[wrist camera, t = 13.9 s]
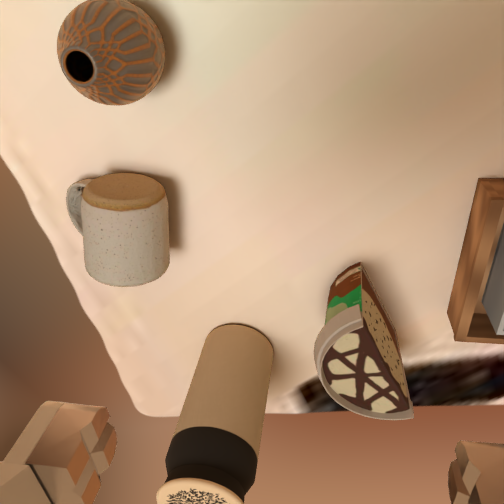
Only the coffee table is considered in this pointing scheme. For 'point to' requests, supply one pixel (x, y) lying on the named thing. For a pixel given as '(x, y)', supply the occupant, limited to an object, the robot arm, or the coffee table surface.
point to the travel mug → (220, 421)
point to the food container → (361, 351)
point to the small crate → (496, 289)
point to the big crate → (477, 265)
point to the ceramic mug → (122, 227)
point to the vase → (111, 51)
